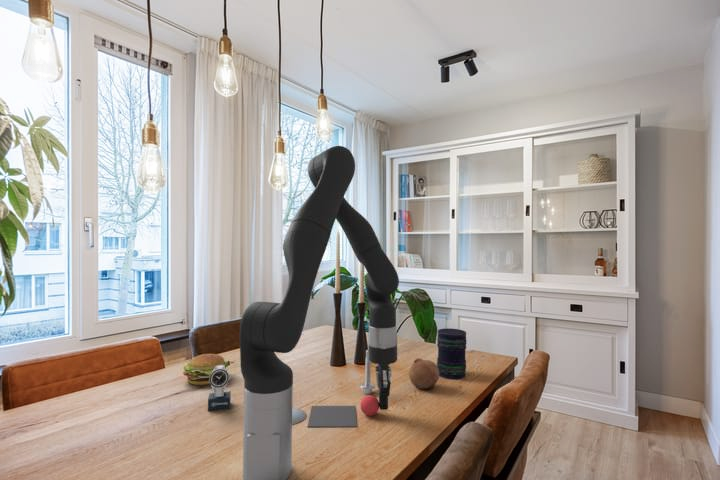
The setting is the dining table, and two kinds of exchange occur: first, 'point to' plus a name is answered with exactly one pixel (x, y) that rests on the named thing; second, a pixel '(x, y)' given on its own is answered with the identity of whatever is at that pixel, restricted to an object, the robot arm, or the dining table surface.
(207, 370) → the food
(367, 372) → the screw
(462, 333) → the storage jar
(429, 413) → the dining table surface
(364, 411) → the ball
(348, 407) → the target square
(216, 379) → the watch
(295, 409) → the disc
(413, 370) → the onion
